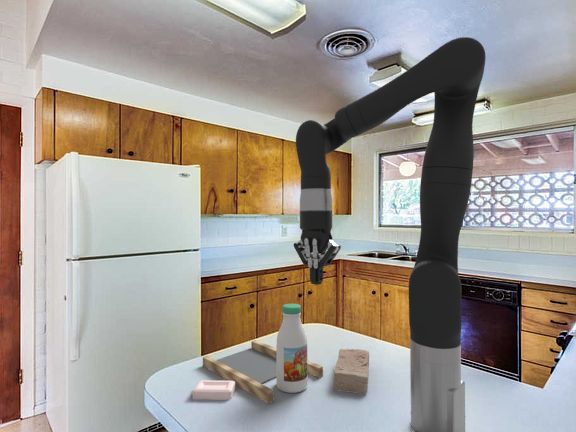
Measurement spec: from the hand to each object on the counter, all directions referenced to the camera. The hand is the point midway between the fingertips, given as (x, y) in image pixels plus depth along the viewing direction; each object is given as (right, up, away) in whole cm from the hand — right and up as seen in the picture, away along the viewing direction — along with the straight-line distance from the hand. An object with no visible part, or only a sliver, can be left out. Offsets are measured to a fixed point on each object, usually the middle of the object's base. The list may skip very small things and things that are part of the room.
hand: (316, 283), depth 79 cm
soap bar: (-24, -27, +2) cm, 36 cm away
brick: (+10, -27, +10) cm, 31 cm away
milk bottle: (-6, -27, +6) cm, 28 cm away
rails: (-14, -27, +14) cm, 33 cm away
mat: (-17, -27, +17) cm, 36 cm away
